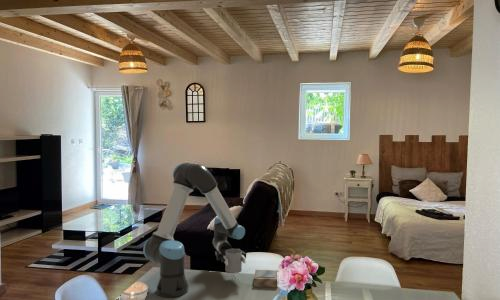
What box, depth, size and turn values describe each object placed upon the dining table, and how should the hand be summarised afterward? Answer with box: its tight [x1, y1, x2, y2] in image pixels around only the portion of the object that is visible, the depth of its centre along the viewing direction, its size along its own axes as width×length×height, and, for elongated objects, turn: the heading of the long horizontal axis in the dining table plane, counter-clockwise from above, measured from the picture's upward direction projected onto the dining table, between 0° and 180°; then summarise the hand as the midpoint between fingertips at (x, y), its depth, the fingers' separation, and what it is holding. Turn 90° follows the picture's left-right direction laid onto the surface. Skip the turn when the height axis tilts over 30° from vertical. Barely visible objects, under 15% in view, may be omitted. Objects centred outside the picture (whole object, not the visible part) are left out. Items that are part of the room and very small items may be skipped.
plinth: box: [253, 269, 279, 288], centre depth 191 cm, size 12×12×4 cm
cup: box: [224, 248, 243, 274], centre depth 191 cm, size 8×8×10 cm
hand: (236, 261), depth 186 cm, fingers closed on cup, 8 cm apart
